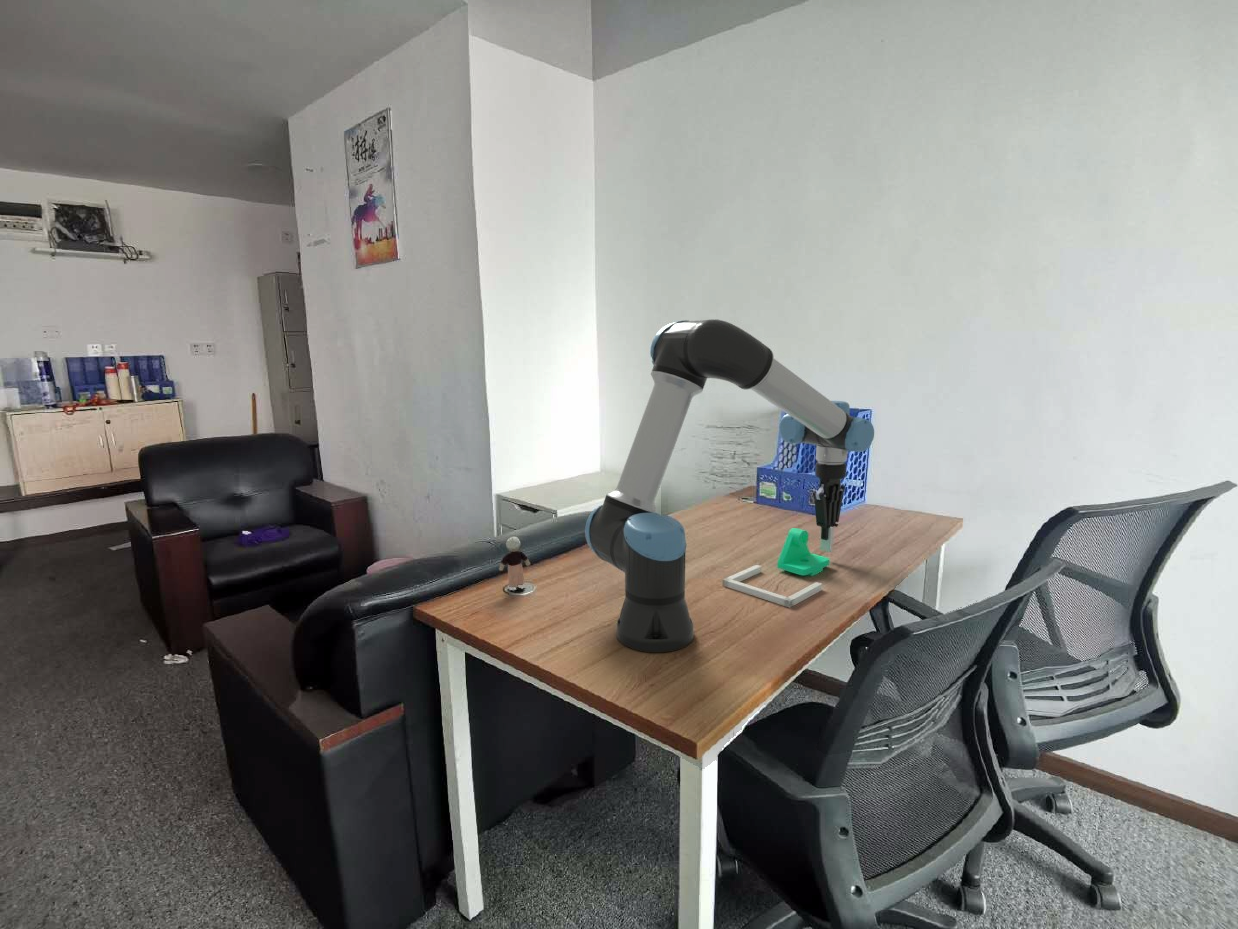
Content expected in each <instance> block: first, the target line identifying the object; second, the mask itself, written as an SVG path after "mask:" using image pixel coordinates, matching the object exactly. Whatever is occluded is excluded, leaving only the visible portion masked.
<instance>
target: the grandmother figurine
mask: <svg viewBox="0 0 1238 929" xmlns="http://www.w3.org/2000/svg"><path fill="white" fill-rule="evenodd" d="M505 545H506V546H505V547H506V549H507V550H508V551H509V553H506V554H505V555H504V556H503V558H502V559H501V561H500V565H499V567H498V570H499V571H503V570H504V568H505V566H507V579H508V586H509V587H516V588H517V586H518V585H523V584H525V583H526V582H525V575H524V568H523V563H522V561H523V562H524V564H525V566H527V567H530V565H531V562H530V560H529V559H528V556H527V555H526V554H525V553H524V552H523V551H520V550H519V549H520V547H521V541H520V538H518V537H517V536H511V537H509V538H508V539H507V540H506V542H505Z"/></svg>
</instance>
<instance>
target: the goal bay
mask: <svg viewBox="0 0 1238 929" xmlns="http://www.w3.org/2000/svg"><path fill="white" fill-rule="evenodd" d="M761 572H762V566H761V565H759V564H755V565H752V566H750V567H748V568H746V569H744V570H740V571H739V572H737V573H735V574H732V575H730V576H727V577H725V578H723V579H721V580H722V587H723V586H724V587H725V588H729V589H732V590H734V591H738V592H741V593H744V594H747V595H750V596H753V597H756V598H759V599H762V600H765V601H769V602H772V603H774V604H777V605H780V606H783V607H786V608H789V609H790V608H792V607H794V606H795V605H797V604H799V603H801V602H802V601H805V600H806V599H808V598H810V597H811V596H813V595H815V594H817V593H819V592H820V591H822V590H823V583H821V582H817V581H815V582H813V583H812V584H810V585H808V586H806V587H804V588H802V589H800V590H799V591H797V592H795V593H793V594H791V595H789V596H785V595H781V594H779V593H775V592H772V591H769V590H766V589H764V588H760V587H756V586H754V585H750V584H746V583H743V582H742V581H744V580H746V579H749V578H751V577H753V576H755V575H758V574H760V573H761Z"/></svg>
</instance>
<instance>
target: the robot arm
mask: <svg viewBox="0 0 1238 929" xmlns="http://www.w3.org/2000/svg"><path fill="white" fill-rule="evenodd" d="M649 354H650V358H651V359H652V360H651V363H652V369H651V373H650V375H651V377H652V380H653V383H654V385H653V387H652V390H651V393H650V396H649V398H648V401H647V403H646V406H645V409H644V412H643V415H642V417H641V420H640V422H639V426H638V427H637V431H636V433H635V436H634V439H633V442H632V445H631V447H630V450H629V453H628V456H627V459H626V461H625V464H624V467H623V470H622V472H621V475H620V477H619V481H618V483H617V486H616V488H615V489H614V490H612V491H609V492H607V493H606V494H605V498H604V500H603V503H602V504H600V505H599V506H598V507H596V508H594V509H593V510H592V511H591V513H590V514H589V516H588V518H587V520H586V522H585V526H584V527H585V528H584V536H585V540H586V543H587V545H588V548H590V550H591V551H592V552H593V553H594V554H595V555H596V556H597V557H598V558H600V559H601V560H602V561H604V562H607V563H608V564H610V565H611V566H613V567H615V568H616V569H619V570H620V571H622V572H623V573H624V587H625V588H624V589H625V591H624V596H625V597H624V600H623V603H622V606H621V610H620V614H619V616H618V618H617V621H616V637H617V639H618V641H619V642H620V643H621V644H622V645H624V646H625V647H628V648H629V649H632V650H635V651H638V652H645V653H667V652H674V651H677V650H680V649H683V648H685V647H686V646H689V644H691V642H692V641H693V639H694V622H693V619H692V618H691V616H690V612H689V608H688V604H687V602H686V598H685V597H686V594H685V593H686V553H687V552H686V550H687V540H686V532H685V527H684V526H683V525H682V522H680V521H679V520H677V519H676V518H674V517H672V516H669V515H667V514H659V511H658V509H657V507H656V504H655V501H656V498H657V496H658V493H659V491H660V488H661V486H662V483H663V479H664V476H665V474H666V471H667V468H668V465H669V463H670V460H671V457H672V455H673V452H674V449H675V447H676V444H677V441H678V438H679V435H680V432H681V429H682V427H683V424H684V422H685V418H686V416H687V413H688V411H689V409H690V408H689V407H690V405H691V402H692V399H693V398H694V397H695V396H697V395H699V394H702V393H703V390H704V388H705V385H706V382H707V380H708V379H717V380H722V381H725V382H729V383H731V384H732V385H733V384H734V385H736V387H737V388H740V389H741V390H745V391H746V390H751V391H754V392H755V393H756V394H758V395H759V396H760V397H762V398H763V399H765V400H767V401H768V402H770V403H771V404H772V405H774V406H775V407H777V408H778V409H780V410H781V411H782V412H784V413H786V414H785V415H783V416H782V417H781V418H780V421H779V423H778V424H779V425H778V426H779V427H778V432H779V435H780V437H781V439H782V441H784V442H785V443H786V444H796V445H799V444H809V445H814V446H816V448H815V460H816V462H815V468H814V471H815V472H814V475H815V477H816V478H819V482H818V490H817V491H813V492H812V497H813V500H814V508H815V521H816V522H815V524H816V527H820V544H819V550H820V551H822V552H827V553H832V552H833V551H834V550H833V548H834V546H833V545H834V530H835V528H837V527H838V526H839V522H840V518H841V517H840V515H841V511H842V510H841V509H842V506H843V505H842V504H843V498H844V494H845V490H846V485H844V484H842V480H843V479H845V478H846V477H847V468H848V467H847V466H848V465H847V463H846V462H847V461H848V455H849V452H854V453H855V452H856V453H861V452H864V451H866V450H868V449H869V448H871V445H872V443H873V441H874V439H875V428H874V425H873V424H872V422H871V421H870V420H868V419H867V418H862V417H859V416H857V417H854V416H851V415H850V409H851V406H850V404H849V403H848V402H847V401H843V400H830V399H829V398H827V397H826V396H825V395H823V394H822V393H821V392H819V391H818V390H816V389H815V388H814V387H813V386H811V385H810V384H809V383H808V382H806V381H805V380H804V379H802V378H801V377H799V376H798V375H797V374H795V373H794V372H793V371H792V370H790V369H789V368H787V367H786V366H785V365H783V363H781V362H779V361H778V360H777V359H776V358H775V357H774V352H773V351H772V349H771V348H769V347H768V346H767V345H765V344H764V343H763V342H762V341H760V340H759V339H757V338H756V337H754V336H753V335H751V334H750V333H748V331H745V330H744V329H742V328H740V327H739V326H737V325H735V324H733V323H730V322H728V321H726V320H721V319H705V320H702V319H701V320H687V319H685V320H684V319H683V320H678V321H675V322H670V323H668V324H667V325H665V326H662V328H660V329H659V330H658V332H657V333H655V336H654V337H653V339H652V342H651V346H650V353H649Z"/></svg>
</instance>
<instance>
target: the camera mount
mask: <svg viewBox="0 0 1238 929" xmlns="http://www.w3.org/2000/svg"><path fill="white" fill-rule="evenodd" d="M809 536H810V535H809V533H808V531H807V530H804V529H801V528H797V527H792V528H791V529H789V531H788V533H787V537H786V538H785V541H784V544H783V546H782V549H781V552H780V554H779V557H778V560H777V564H776V568H778V569H779V570H784V571H786V572H789V573H793V574H796V575H799V576H811V577H813V576H816V575H819V572H820V573H822V572H823V570H824V568H826V567H828V566H830V558H829V557H826V556H823V555H818V554H817V553H816V554H814V553H812V552H811V551H810V549H809V547H808V542H809ZM821 571H822V572H821Z"/></svg>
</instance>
